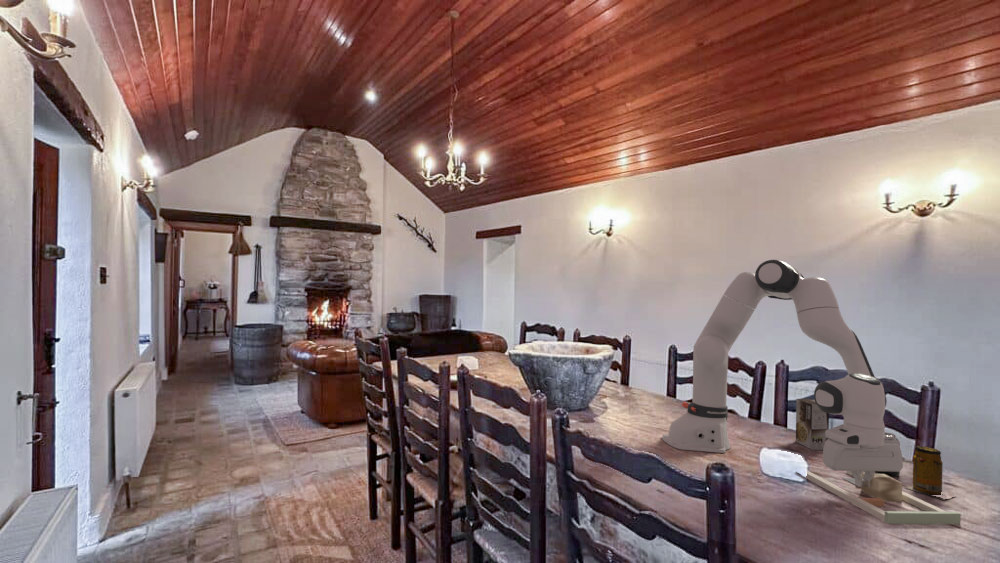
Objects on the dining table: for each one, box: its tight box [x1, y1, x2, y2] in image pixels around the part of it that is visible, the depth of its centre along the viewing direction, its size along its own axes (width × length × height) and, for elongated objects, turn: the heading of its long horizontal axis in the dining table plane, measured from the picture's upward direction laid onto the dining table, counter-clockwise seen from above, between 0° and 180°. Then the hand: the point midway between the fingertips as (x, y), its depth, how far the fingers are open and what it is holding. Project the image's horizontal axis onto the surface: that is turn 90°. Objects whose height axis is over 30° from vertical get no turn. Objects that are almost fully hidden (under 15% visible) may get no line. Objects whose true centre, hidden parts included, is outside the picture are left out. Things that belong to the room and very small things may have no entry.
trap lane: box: [805, 469, 962, 525], centre depth 124 cm, size 18×30×2 cm, turn 4°
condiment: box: [905, 445, 946, 501], centre depth 127 cm, size 7×8×12 cm
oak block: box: [860, 472, 903, 503], centre depth 123 cm, size 6×6×5 cm
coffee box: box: [795, 398, 830, 451], centre depth 165 cm, size 9×6×16 cm
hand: (862, 486), depth 124 cm, fingers closed
